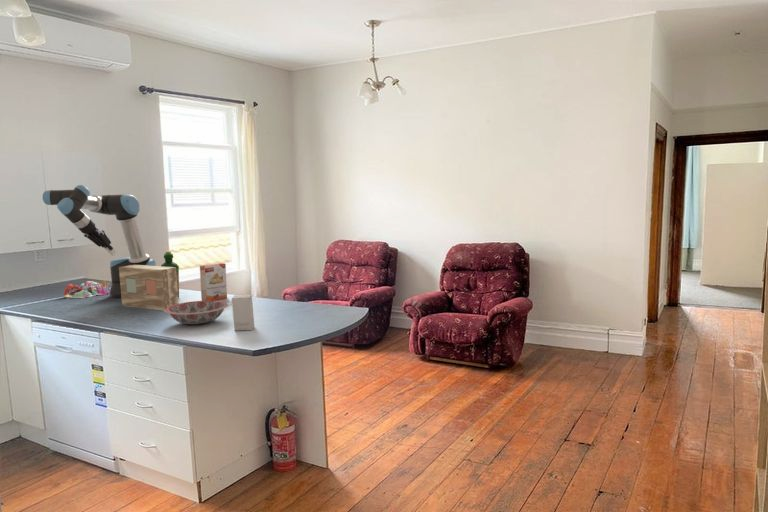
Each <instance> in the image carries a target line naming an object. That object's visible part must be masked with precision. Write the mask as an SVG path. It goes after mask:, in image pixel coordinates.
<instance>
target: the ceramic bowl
mask: <svg viewBox="0 0 768 512" xmlns="http://www.w3.org/2000/svg"><path fill="white" fill-rule="evenodd" d="M227 307H229V304H228V302H225V301H222V300H214V301H202V300H194V301H186V302H181V303H179V304H175V305H172V306H169V307H167V308H166V309H165V310H164V313H167V314H169V316H171V318H172V319H173V320H174V321H176V322H177V323H181V324H183V325H200V324H205V323H210V322H212V321H215V320H216V319H217V318H219V317H220V316H221V315H222V314H223V312H224V311H225V309H227Z"/></svg>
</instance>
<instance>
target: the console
mask: <svg viewBox="0 0 768 512" xmlns="http://www.w3.org/2000/svg"><path fill="white" fill-rule="evenodd" d="M119 275H120V287H121V297H120V299H121V306H123V307H130V308H140V309H148V310H157V311H165V309H166V308H167V307H169V306H172V305H175V304H180V303H179V297H178V288H177V275H176V267H162V266H161V265H159V266H158V265H156V266H146V265H129V266H123V267H119ZM126 278H136V288H137V293H129V292H127V287H126ZM147 279H148V280H156V289H157V295H149V294H146V281H145V280H147Z"/></svg>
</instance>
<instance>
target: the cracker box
mask: <svg viewBox="0 0 768 512" xmlns="http://www.w3.org/2000/svg"><path fill="white" fill-rule="evenodd" d="M226 265H227V264H226V263H224V262H216V263H210V264H201V265H199V274H200V275H199V279H200V296H201V297H200V298H201V301H220V300H224V299H228V290H227V289H228V288H227V286H228V285H227V266H226Z"/></svg>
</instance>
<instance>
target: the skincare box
mask: <svg viewBox="0 0 768 512" xmlns="http://www.w3.org/2000/svg"><path fill="white" fill-rule="evenodd" d="M231 305H232V306H231V307H232V318H233V327H234V331H235V330H246V331H253V329H254V328H255V316H254V315H255V314H254V307H253V306H254V305H253V294H241V295H240V294H237V295H234V296H232V298H231Z"/></svg>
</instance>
